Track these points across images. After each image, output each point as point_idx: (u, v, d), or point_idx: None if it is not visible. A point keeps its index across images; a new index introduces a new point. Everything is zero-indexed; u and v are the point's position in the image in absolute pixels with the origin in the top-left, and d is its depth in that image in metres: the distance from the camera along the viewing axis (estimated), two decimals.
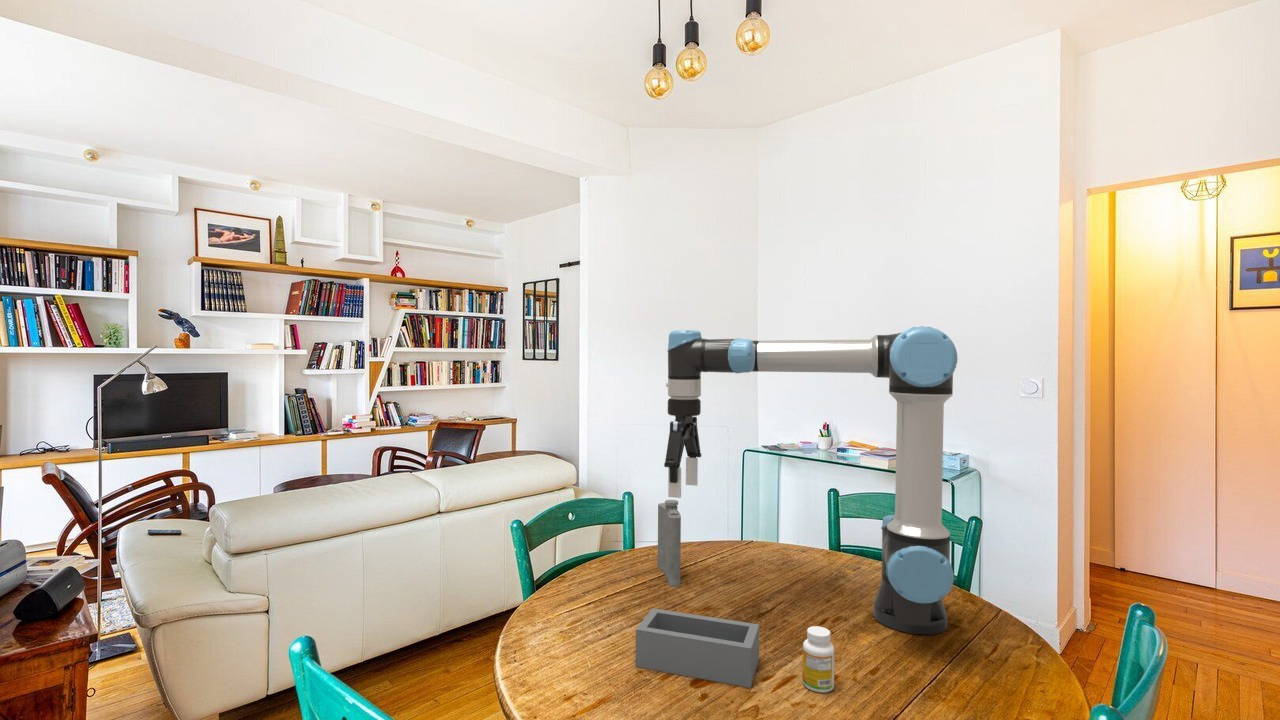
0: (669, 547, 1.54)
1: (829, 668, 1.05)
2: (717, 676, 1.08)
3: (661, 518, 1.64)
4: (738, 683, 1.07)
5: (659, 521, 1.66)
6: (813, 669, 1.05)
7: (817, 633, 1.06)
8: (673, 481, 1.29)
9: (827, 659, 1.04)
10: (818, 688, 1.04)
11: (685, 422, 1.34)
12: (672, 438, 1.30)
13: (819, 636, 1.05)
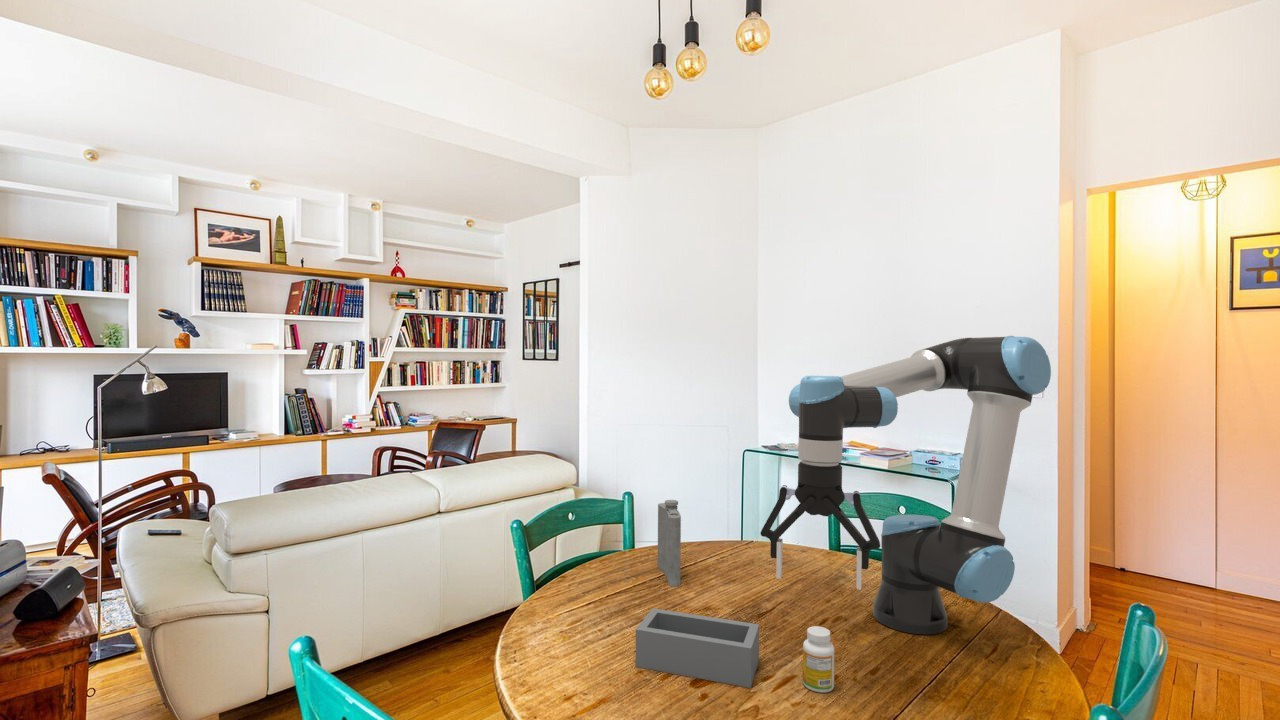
0: (669, 547, 1.54)
1: (829, 668, 1.05)
2: (717, 676, 1.08)
3: (661, 518, 1.64)
4: (738, 683, 1.07)
5: (659, 521, 1.66)
6: (813, 669, 1.05)
7: (817, 633, 1.06)
8: None
9: (827, 659, 1.04)
10: (818, 688, 1.04)
11: (804, 492, 1.07)
12: None
13: (819, 636, 1.05)
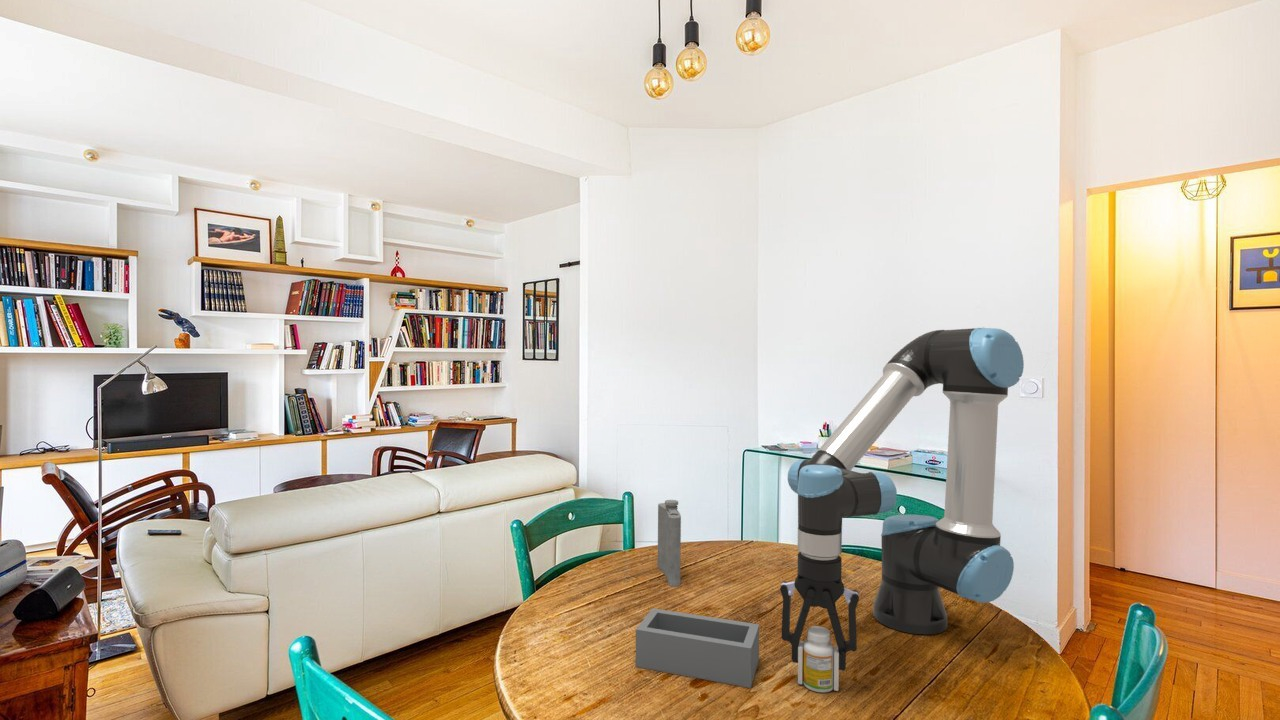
0: (669, 547, 1.54)
1: (829, 668, 1.05)
2: (717, 676, 1.08)
3: (661, 518, 1.64)
4: (738, 683, 1.07)
5: (659, 521, 1.66)
6: (813, 669, 1.05)
7: (817, 633, 1.06)
8: None
9: (827, 659, 1.04)
10: (818, 688, 1.04)
11: (802, 582, 1.07)
12: None
13: (819, 635, 1.05)
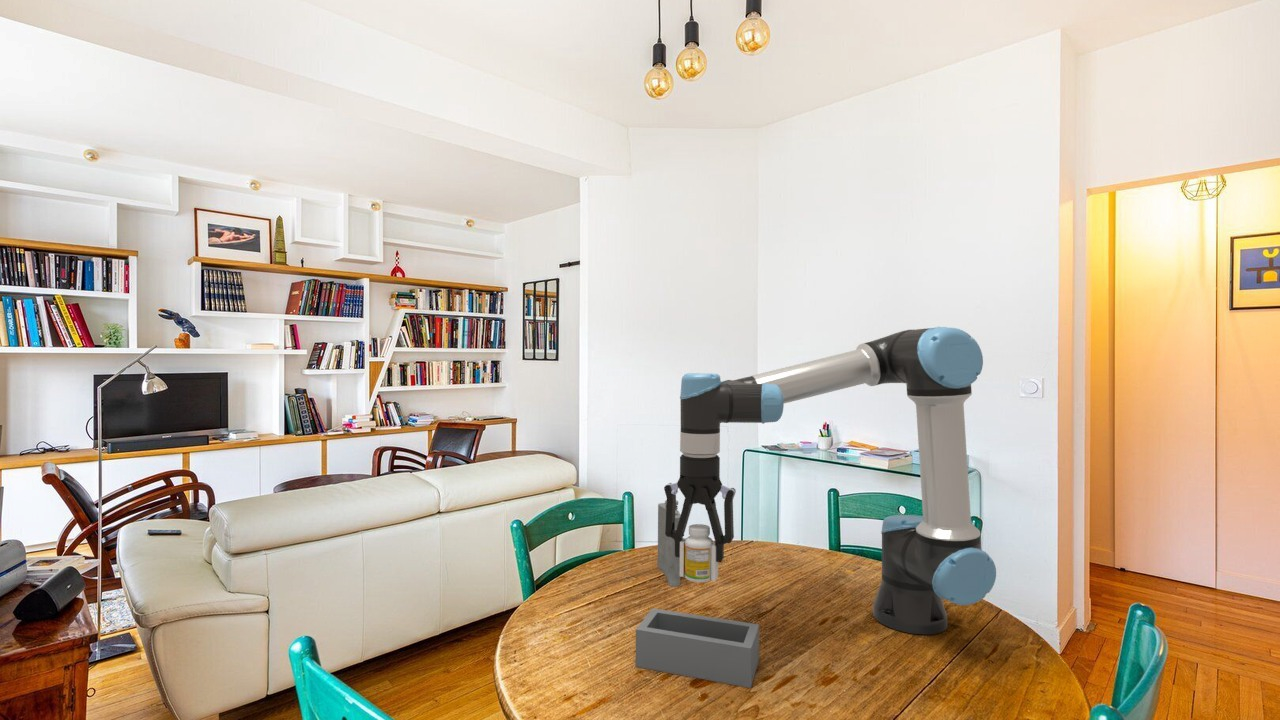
0: (669, 547, 1.54)
1: (706, 559, 1.12)
2: (717, 676, 1.08)
3: (661, 518, 1.64)
4: (738, 683, 1.07)
5: (659, 521, 1.66)
6: (691, 561, 1.12)
7: (697, 528, 1.13)
8: None
9: (704, 551, 1.12)
10: (696, 578, 1.12)
11: (683, 481, 1.14)
12: None
13: (697, 529, 1.12)
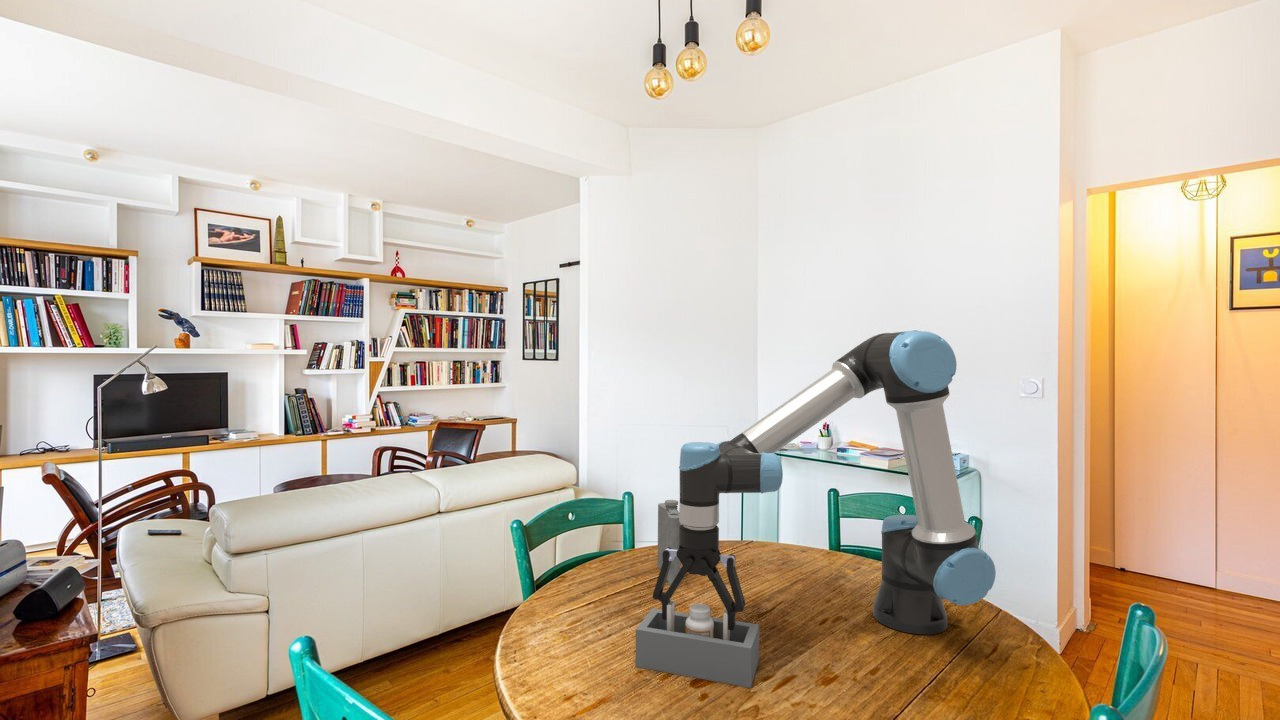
0: None
1: None
2: (717, 676, 1.08)
3: (661, 518, 1.64)
4: (738, 683, 1.07)
5: (659, 521, 1.66)
6: None
7: (697, 609, 1.13)
8: None
9: (705, 633, 1.12)
10: None
11: (683, 552, 1.14)
12: None
13: (698, 612, 1.12)
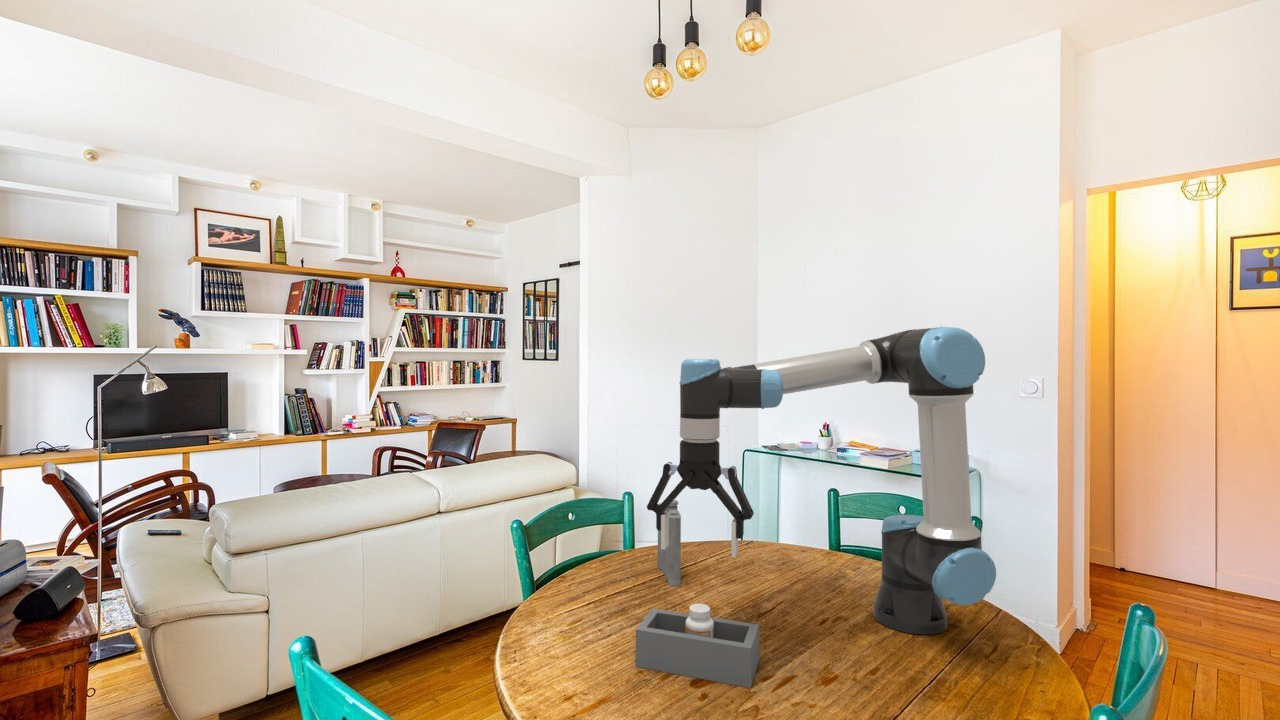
0: (669, 547, 1.54)
1: None
2: (717, 676, 1.08)
3: None
4: (738, 683, 1.07)
5: None
6: None
7: (697, 609, 1.13)
8: None
9: (705, 633, 1.12)
10: None
11: (684, 467, 1.14)
12: None
13: (698, 612, 1.12)
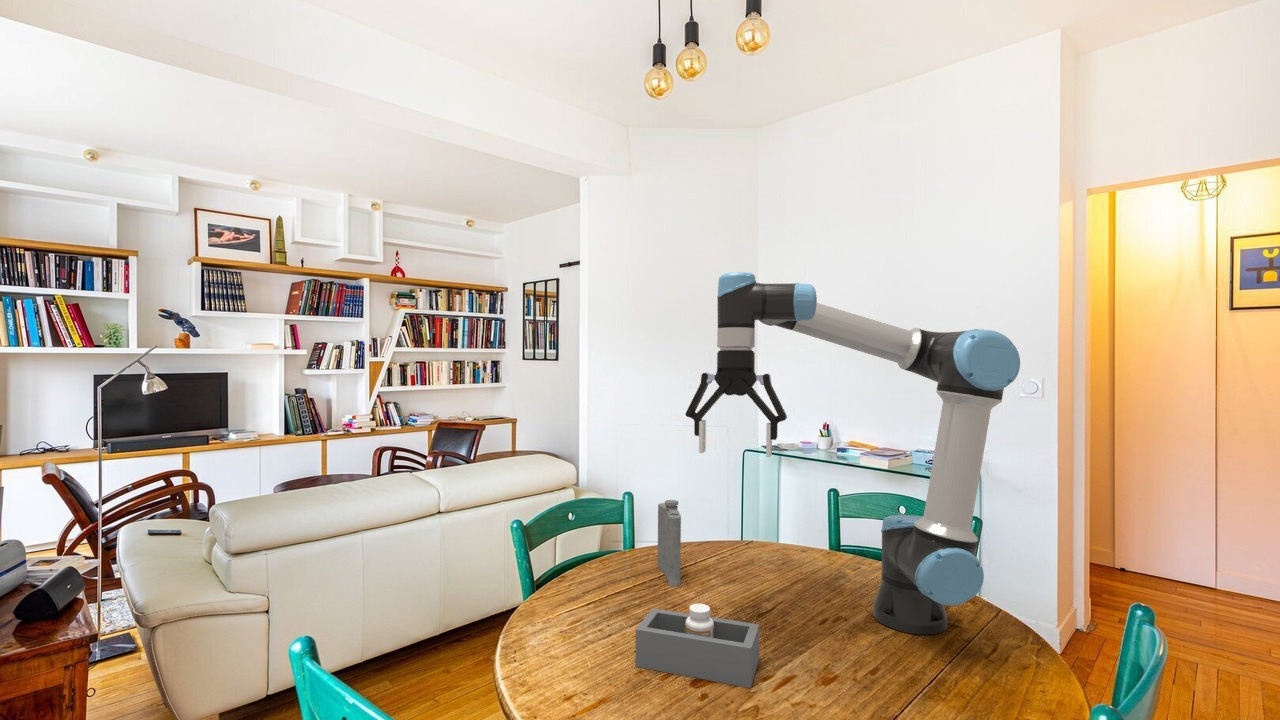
0: (669, 547, 1.54)
1: None
2: (717, 676, 1.08)
3: (661, 518, 1.64)
4: (738, 683, 1.07)
5: (659, 521, 1.66)
6: None
7: (697, 609, 1.13)
8: None
9: (705, 633, 1.12)
10: None
11: (722, 375, 1.22)
12: None
13: (698, 612, 1.12)
